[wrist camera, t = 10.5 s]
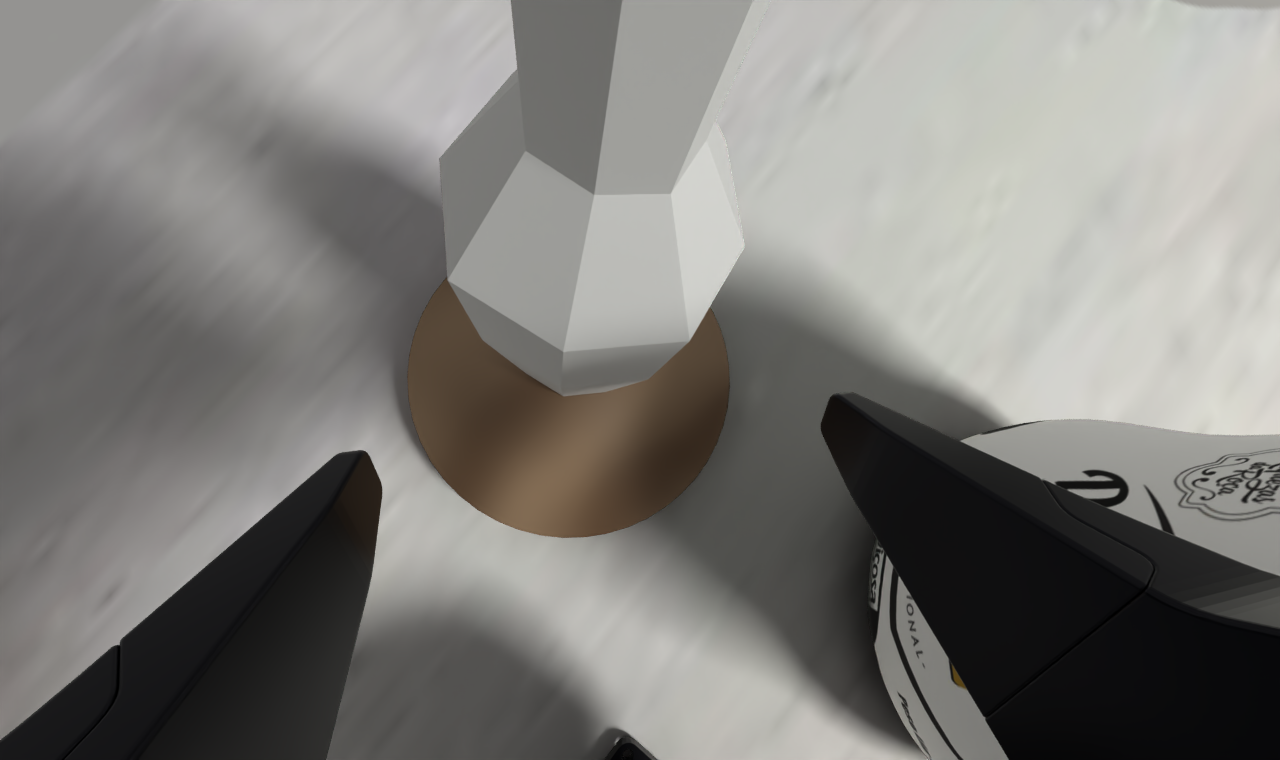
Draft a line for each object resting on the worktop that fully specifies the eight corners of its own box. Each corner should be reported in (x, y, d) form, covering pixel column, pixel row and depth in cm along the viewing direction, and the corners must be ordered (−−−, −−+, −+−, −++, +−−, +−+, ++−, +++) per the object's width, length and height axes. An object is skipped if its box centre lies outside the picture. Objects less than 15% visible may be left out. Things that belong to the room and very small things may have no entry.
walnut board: (772, 371, 23) (786, 366, 22) (586, 600, 20) (588, 611, 18) (569, 185, 23) (570, 166, 22) (346, 384, 20) (329, 378, 18)
